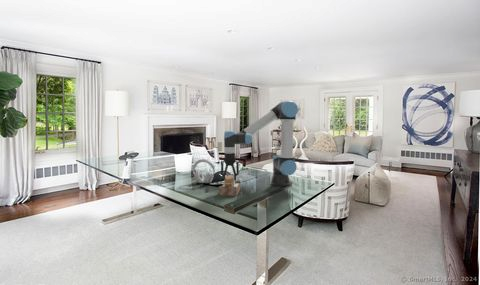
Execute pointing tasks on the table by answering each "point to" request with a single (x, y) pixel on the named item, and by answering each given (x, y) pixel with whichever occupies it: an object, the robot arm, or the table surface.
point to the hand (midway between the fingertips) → (230, 184)
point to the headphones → (199, 175)
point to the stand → (230, 189)
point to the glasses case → (229, 180)
